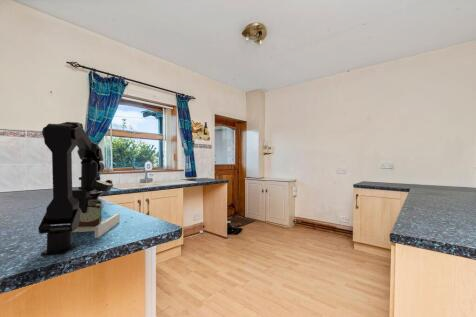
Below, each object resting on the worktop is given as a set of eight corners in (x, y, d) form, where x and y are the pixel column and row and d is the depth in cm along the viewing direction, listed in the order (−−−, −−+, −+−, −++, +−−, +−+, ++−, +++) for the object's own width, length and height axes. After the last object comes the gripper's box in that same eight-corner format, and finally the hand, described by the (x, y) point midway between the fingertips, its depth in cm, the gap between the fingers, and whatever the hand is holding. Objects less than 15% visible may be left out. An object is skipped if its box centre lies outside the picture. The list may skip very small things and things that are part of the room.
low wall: (98, 237, 77) (98, 226, 77) (94, 238, 77) (94, 227, 77) (119, 222, 97) (119, 213, 97) (116, 222, 97) (116, 213, 97)
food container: (110, 220, 95) (108, 198, 93) (103, 226, 89) (101, 204, 87) (80, 220, 93) (78, 199, 91) (71, 227, 87) (68, 204, 85)
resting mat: (100, 230, 85) (100, 230, 85) (58, 232, 82) (58, 231, 82) (113, 222, 96) (113, 221, 96) (77, 223, 94) (77, 222, 94)
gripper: (99, 176, 82) (98, 216, 81) (118, 173, 100) (117, 206, 100) (67, 176, 80) (66, 217, 80) (92, 173, 98) (92, 206, 98)
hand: (88, 211), depth 89 cm, fingers closed on food container, 6 cm apart
